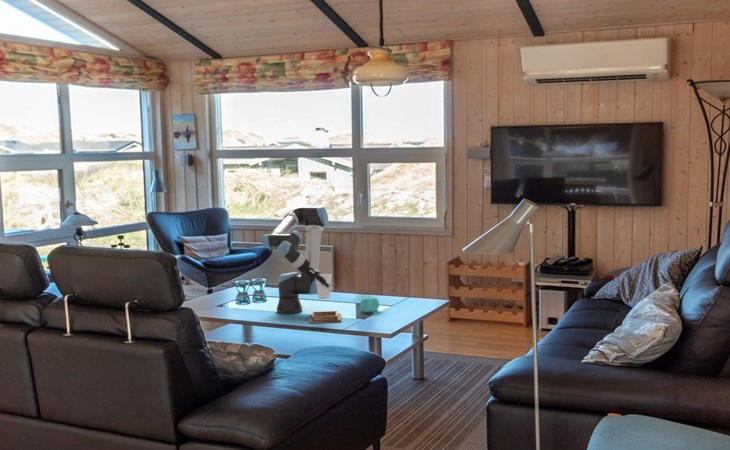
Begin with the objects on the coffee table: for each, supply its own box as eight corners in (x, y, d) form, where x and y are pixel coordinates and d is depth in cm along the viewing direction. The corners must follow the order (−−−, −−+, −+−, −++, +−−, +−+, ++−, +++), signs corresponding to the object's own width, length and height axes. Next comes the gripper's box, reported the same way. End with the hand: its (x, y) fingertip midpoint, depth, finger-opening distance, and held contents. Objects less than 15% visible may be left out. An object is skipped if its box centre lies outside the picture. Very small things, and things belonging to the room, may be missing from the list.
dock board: (309, 316, 431) (309, 311, 431) (341, 315, 432) (340, 310, 432) (308, 323, 413) (308, 317, 413) (341, 322, 414) (340, 316, 414)
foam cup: (319, 296, 427) (318, 273, 426) (334, 296, 424) (334, 274, 423) (313, 299, 418) (312, 276, 417) (328, 299, 415) (327, 276, 414)
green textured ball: (379, 310, 443) (379, 297, 442) (370, 312, 437) (370, 299, 436) (369, 309, 448) (368, 296, 447) (360, 311, 442) (359, 298, 441)
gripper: (290, 266, 424) (318, 291, 431) (302, 270, 404) (331, 296, 411) (299, 256, 426) (327, 281, 433) (311, 260, 405) (340, 286, 413)
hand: (329, 288), depth 422 cm, fingers closed on foam cup, 9 cm apart
